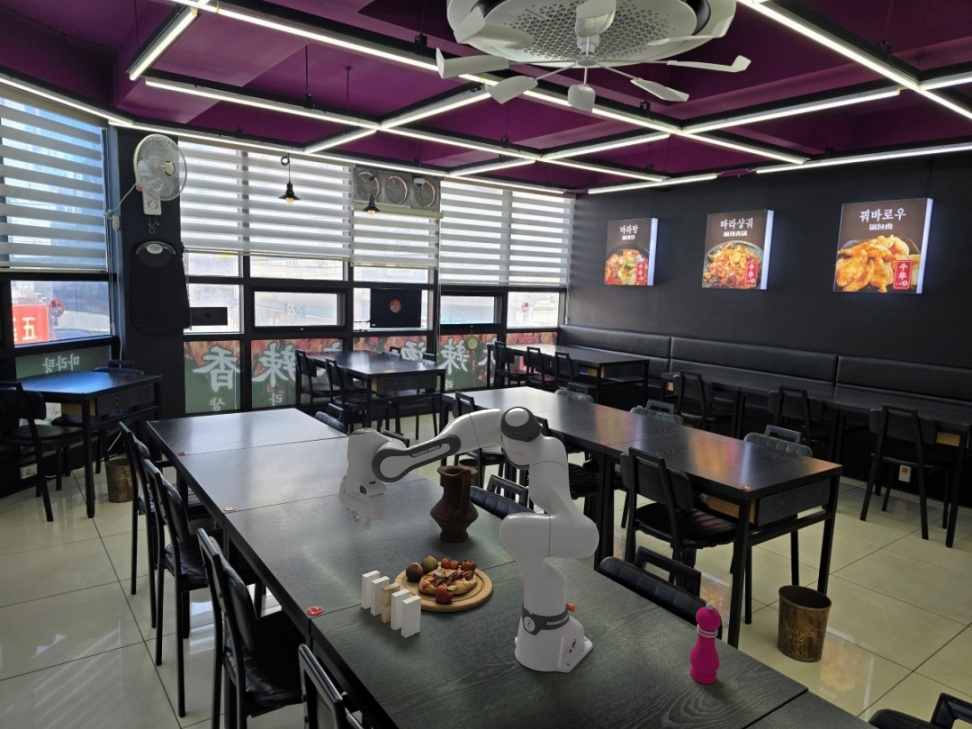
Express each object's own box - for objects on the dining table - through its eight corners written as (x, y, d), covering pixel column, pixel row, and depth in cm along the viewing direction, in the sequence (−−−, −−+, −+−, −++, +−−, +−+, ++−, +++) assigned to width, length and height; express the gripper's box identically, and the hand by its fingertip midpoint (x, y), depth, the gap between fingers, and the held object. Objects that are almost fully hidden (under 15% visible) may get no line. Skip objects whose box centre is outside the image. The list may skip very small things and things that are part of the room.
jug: (422, 531, 248) (425, 457, 244) (465, 525, 256) (468, 453, 252) (442, 552, 229) (444, 472, 225) (487, 545, 237) (491, 468, 233)
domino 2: (384, 607, 189) (385, 576, 188) (388, 610, 188) (389, 578, 186) (370, 613, 185) (371, 581, 184) (374, 615, 184) (375, 583, 183)
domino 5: (415, 628, 178) (416, 595, 177) (419, 631, 177) (421, 598, 176) (401, 634, 175) (402, 600, 174) (405, 637, 173) (406, 603, 172)
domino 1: (375, 601, 192) (376, 570, 191) (379, 603, 191) (379, 572, 190) (361, 606, 189) (361, 574, 188) (365, 609, 188) (365, 577, 186)
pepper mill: (711, 668, 165) (718, 596, 163) (722, 685, 158) (729, 610, 156) (684, 667, 165) (690, 595, 162) (694, 685, 158) (701, 610, 155)
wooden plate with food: (481, 621, 184) (483, 594, 183) (378, 605, 190) (379, 579, 189) (500, 575, 215) (501, 552, 214) (411, 562, 221) (412, 540, 220)
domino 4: (404, 621, 182) (405, 588, 181) (409, 624, 180) (410, 591, 179) (390, 627, 178) (391, 594, 177) (394, 630, 177) (395, 596, 176)
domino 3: (395, 614, 185) (396, 582, 184) (399, 617, 184) (400, 585, 183) (381, 620, 182) (381, 587, 181) (385, 623, 180) (385, 590, 179)
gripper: (334, 474, 195) (333, 517, 197) (371, 492, 180) (370, 538, 182) (352, 471, 199) (351, 513, 201) (389, 488, 185) (388, 533, 186)
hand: (360, 525), depth 191 cm, fingers open, 5 cm apart
